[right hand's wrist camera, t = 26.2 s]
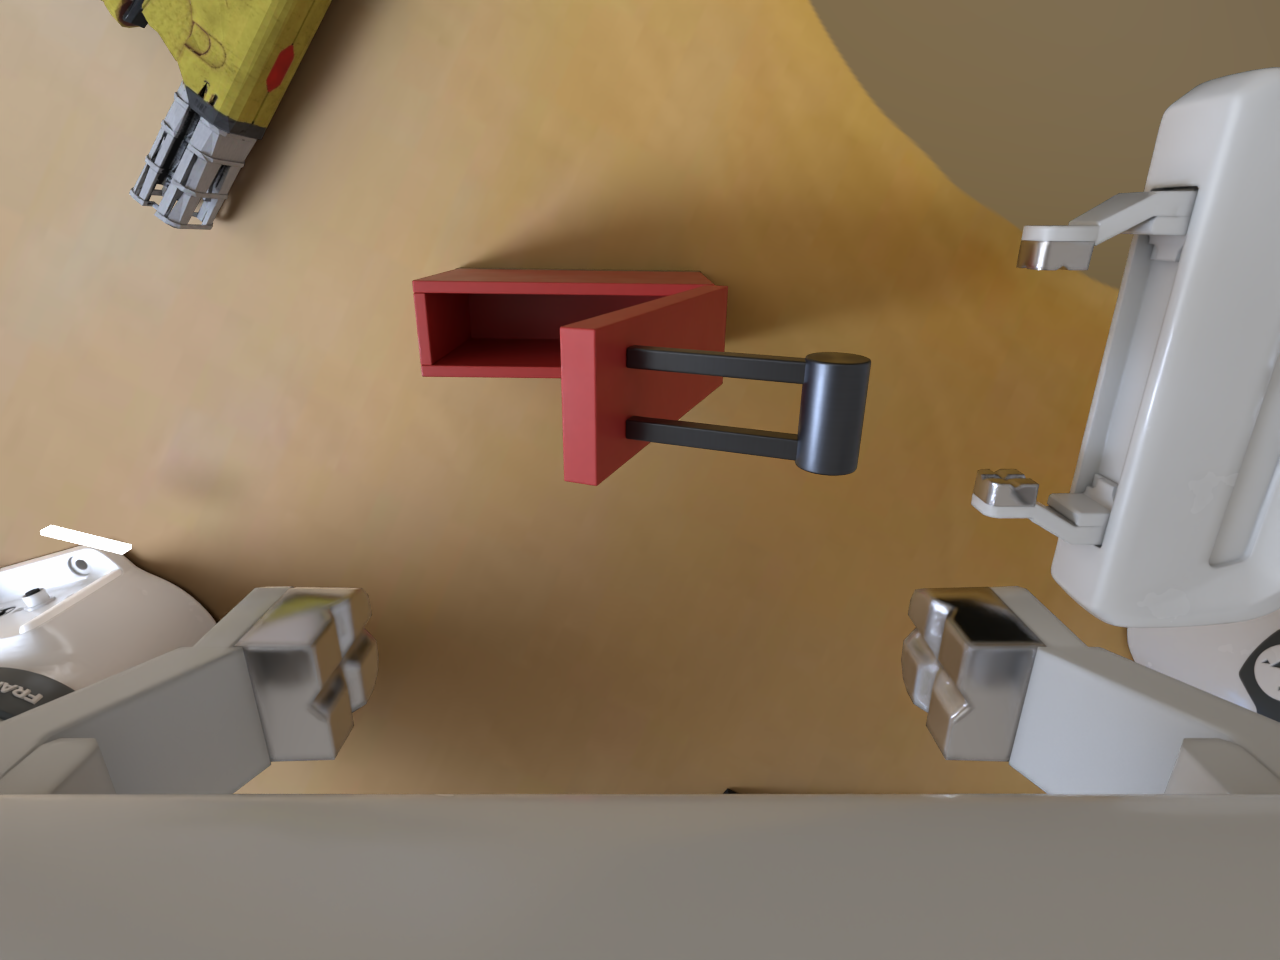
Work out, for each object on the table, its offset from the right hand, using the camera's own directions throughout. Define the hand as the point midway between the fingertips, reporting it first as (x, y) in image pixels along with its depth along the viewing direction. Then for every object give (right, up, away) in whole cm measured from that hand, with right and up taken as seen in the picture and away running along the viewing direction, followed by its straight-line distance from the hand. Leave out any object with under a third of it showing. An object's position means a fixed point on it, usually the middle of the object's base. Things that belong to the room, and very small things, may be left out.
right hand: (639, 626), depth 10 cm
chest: (-4, +14, +35) cm, 38 cm away
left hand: (+14, +6, +16) cm, 22 cm away
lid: (0, +7, +18) cm, 20 cm away
